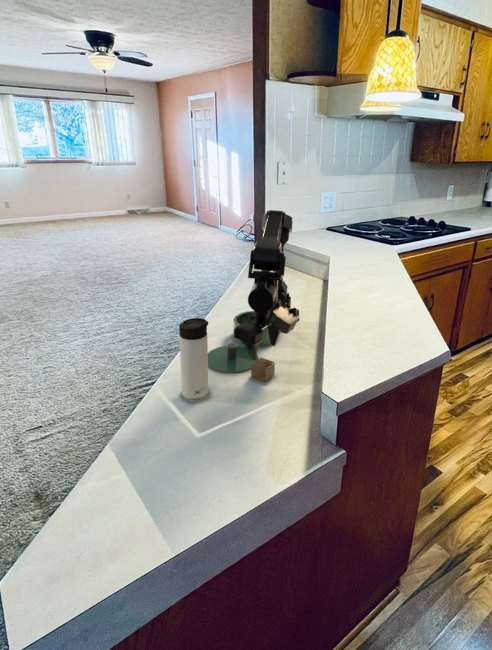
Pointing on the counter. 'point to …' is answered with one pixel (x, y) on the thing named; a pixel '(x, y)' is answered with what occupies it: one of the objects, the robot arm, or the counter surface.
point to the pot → (245, 317)
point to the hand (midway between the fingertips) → (263, 352)
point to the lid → (230, 359)
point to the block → (262, 369)
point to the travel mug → (194, 358)
